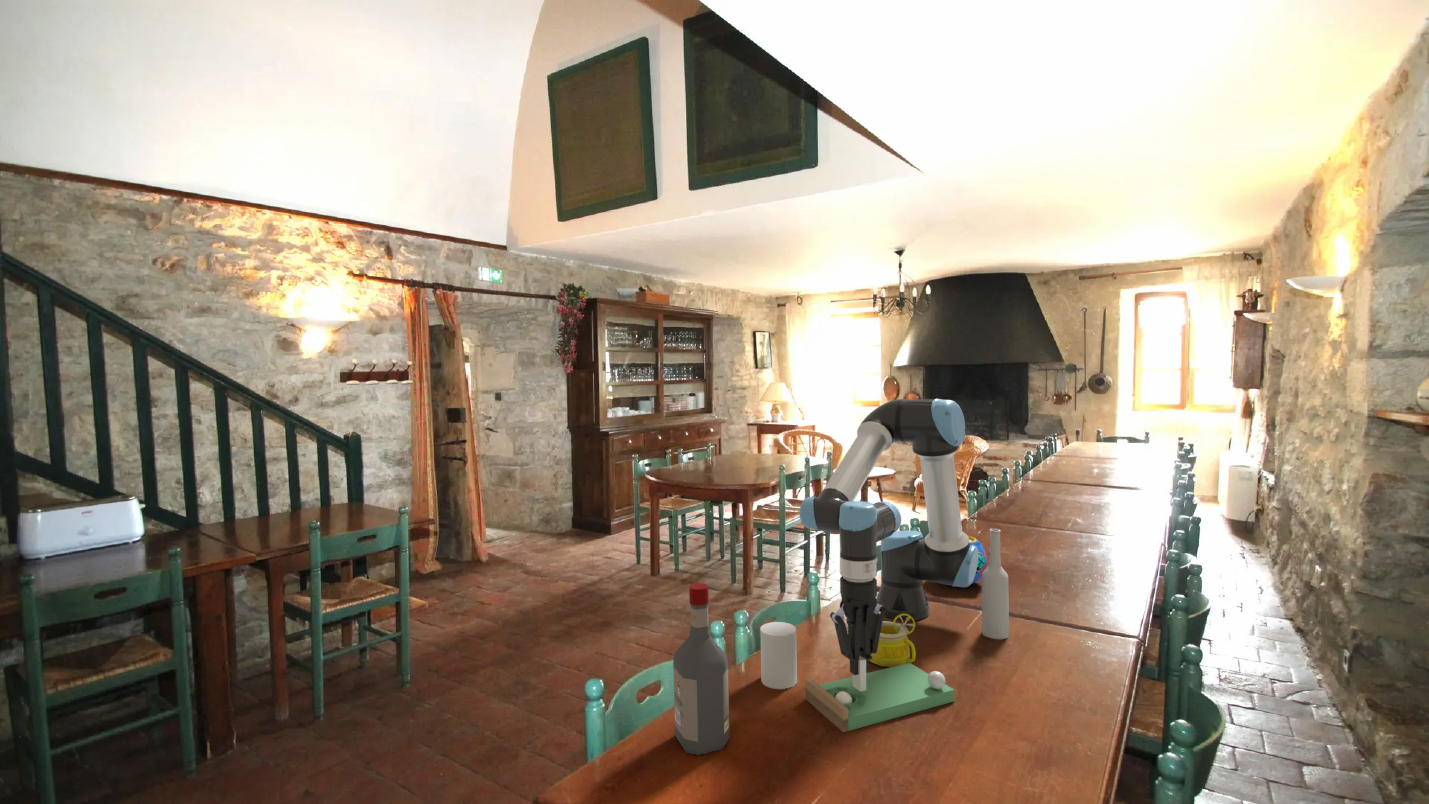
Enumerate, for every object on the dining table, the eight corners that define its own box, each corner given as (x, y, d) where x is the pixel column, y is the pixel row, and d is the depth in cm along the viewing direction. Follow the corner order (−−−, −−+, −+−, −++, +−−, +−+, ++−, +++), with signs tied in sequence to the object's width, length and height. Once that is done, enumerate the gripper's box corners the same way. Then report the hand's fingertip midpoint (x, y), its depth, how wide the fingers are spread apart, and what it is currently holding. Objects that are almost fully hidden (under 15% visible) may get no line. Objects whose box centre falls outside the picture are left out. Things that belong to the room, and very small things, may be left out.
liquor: (688, 759, 116) (684, 597, 115) (671, 734, 124) (668, 583, 123) (733, 747, 120) (730, 589, 118) (714, 723, 128) (711, 576, 127)
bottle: (1002, 641, 164) (1001, 534, 163) (977, 634, 169) (976, 529, 168) (1013, 634, 168) (1013, 529, 167) (988, 627, 173) (988, 525, 172)
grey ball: (923, 686, 136) (923, 670, 136) (937, 683, 138) (937, 666, 137) (935, 694, 133) (935, 677, 133) (949, 690, 134) (949, 673, 134)
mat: (805, 699, 137) (805, 678, 136) (909, 673, 148) (909, 654, 147) (843, 732, 124) (842, 709, 124) (954, 701, 135) (954, 680, 134)
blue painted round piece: (935, 591, 203) (935, 544, 202) (926, 573, 220) (926, 531, 220) (993, 593, 200) (993, 545, 199) (979, 575, 218) (979, 532, 217)
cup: (800, 674, 148) (799, 624, 147) (792, 691, 140) (792, 637, 140) (766, 670, 151) (765, 620, 150) (757, 686, 143) (756, 633, 142)
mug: (855, 661, 154) (854, 612, 154) (877, 647, 162) (877, 600, 162) (904, 677, 146) (904, 626, 145) (925, 661, 154) (925, 612, 153)
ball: (847, 700, 135) (841, 715, 132) (835, 688, 135) (828, 703, 132) (858, 698, 132) (852, 713, 130) (845, 686, 132) (839, 701, 130)
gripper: (842, 586, 127) (843, 703, 127) (895, 577, 132) (896, 689, 133) (821, 576, 133) (823, 686, 134) (872, 567, 139) (873, 674, 139)
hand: (859, 687), depth 133 cm, fingers closed
